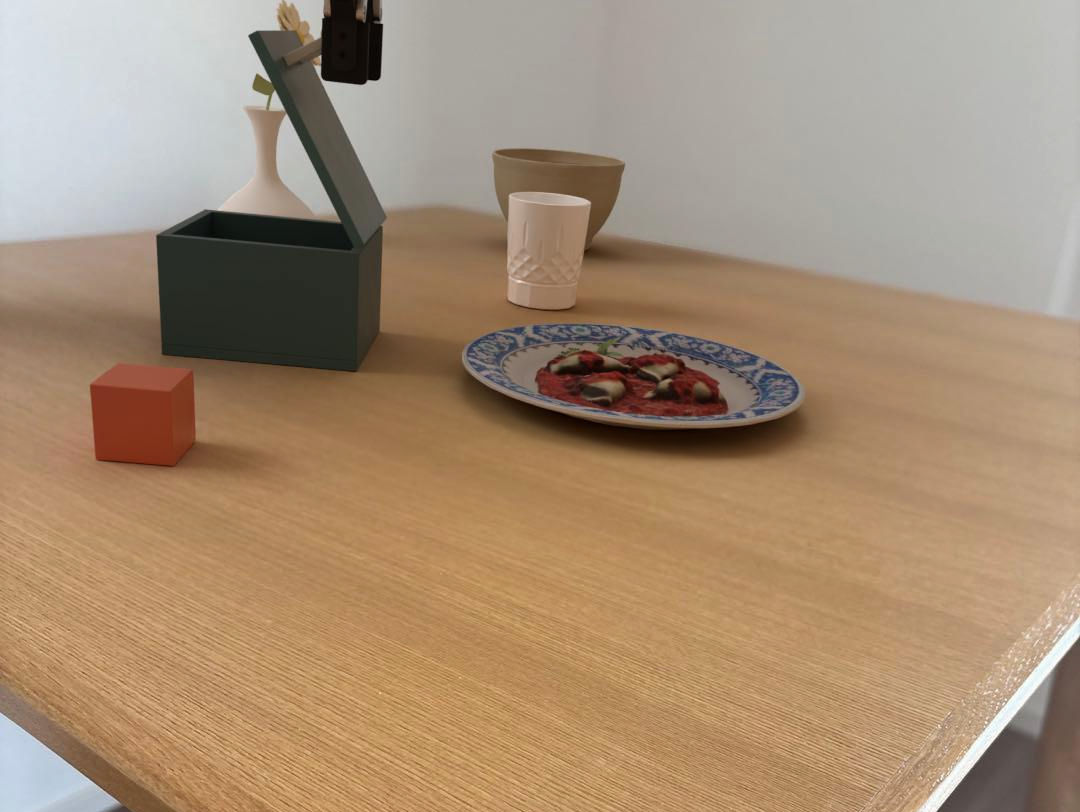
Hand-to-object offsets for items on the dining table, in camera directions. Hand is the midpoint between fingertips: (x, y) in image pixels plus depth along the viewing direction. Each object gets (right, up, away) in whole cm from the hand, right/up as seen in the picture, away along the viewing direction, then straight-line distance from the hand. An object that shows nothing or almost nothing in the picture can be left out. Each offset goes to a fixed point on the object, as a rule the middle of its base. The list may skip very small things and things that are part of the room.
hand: (352, 78), depth 82 cm
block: (-10, -28, -16) cm, 34 cm away
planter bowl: (+15, +3, +59) cm, 61 cm away
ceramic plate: (+21, -23, +4) cm, 31 cm away
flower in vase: (-18, +2, +51) cm, 54 cm away
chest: (-7, -18, +8) cm, 21 cm away
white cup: (+14, -10, +30) cm, 34 cm away
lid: (-3, -4, +2) cm, 5 cm away
